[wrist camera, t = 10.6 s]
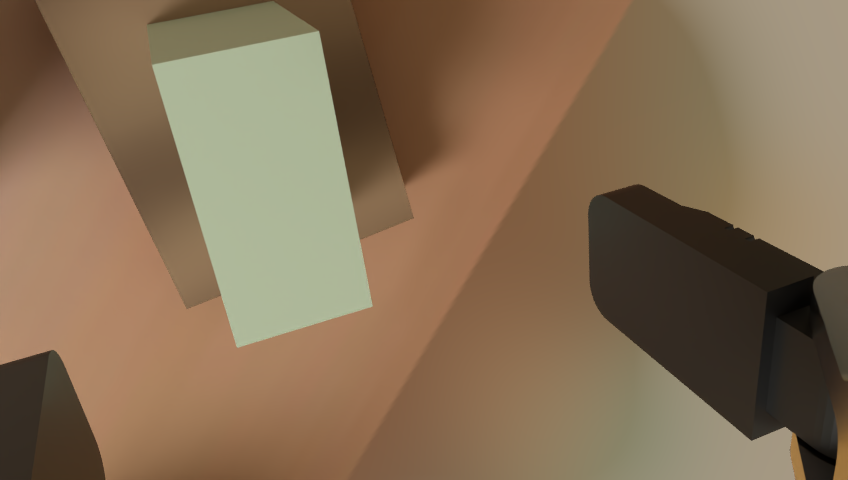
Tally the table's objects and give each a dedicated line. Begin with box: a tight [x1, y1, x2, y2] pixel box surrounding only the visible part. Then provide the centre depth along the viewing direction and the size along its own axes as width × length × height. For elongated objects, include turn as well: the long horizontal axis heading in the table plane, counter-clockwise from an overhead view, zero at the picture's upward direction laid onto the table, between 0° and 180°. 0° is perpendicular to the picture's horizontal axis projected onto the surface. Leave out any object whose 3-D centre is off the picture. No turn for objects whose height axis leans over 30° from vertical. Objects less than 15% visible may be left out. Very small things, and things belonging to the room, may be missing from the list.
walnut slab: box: [35, 0, 414, 309], centre depth 23 cm, size 10×8×3 cm
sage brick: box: [147, 1, 372, 348], centre depth 19 cm, size 7×4×6 cm, turn 7°
